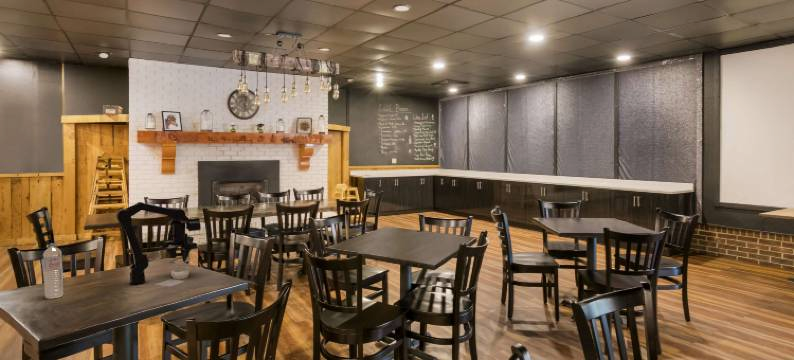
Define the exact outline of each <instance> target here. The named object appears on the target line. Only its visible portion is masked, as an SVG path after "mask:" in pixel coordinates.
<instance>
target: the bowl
mask: <svg viewBox="0 0 794 360" xmlns="http://www.w3.org/2000/svg"><path fill="white" fill-rule="evenodd" d="M170 272H171V278H172V280H183V279H187V278H188V277H189V275H190V274H189V273H190V269H189V268H188V267H179V268H173V269H171V270H170Z"/></svg>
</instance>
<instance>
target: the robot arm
mask: <svg viewBox="0 0 794 360" xmlns="http://www.w3.org/2000/svg"><path fill="white" fill-rule="evenodd" d="M141 211H144V212H149V213H153V214H158V215H164V216H166V217H170V218H173V219H171V221H169V222H168V224H169V225H172V229H173V231H172V234H171V237H172V238H173V239H172V240H166V241H162V243H161V248H165V250H167V252H168V253H169V254H170V256H171V259H172V258H176V257H177V251H178V248H183V249H180V252H181V256H182V258H183V261H184V263H186V262H185V261H186V259H187V257H189V256H188V255H189V254H190V252H191V250H194V249H198V243H196V242H194V239H195V237H193V236H189V235H188V233H187V232H186V231H188V232H195V231H201V229H202V226H201V225H202V224H201V221H200V218H199V217H195V218H189V217H188V216H186V211H185V210H184V209H182V208H179V207H163V206H160V205H155V204H149V203H146V202H142V201H138V202H136V203H135V204H133V205H130V206H128V207H126V208H121V209H119V210H118V211H117V212H116V214H115V215H116V217H117V220H118V221H119V223H120V225H121V226H122V227H123V229H124V232H125V235H126V237H127V240H128V244H129V246H130V249H131V251H132V256H133V257H132V258H133V264H132V265H131V266H130V267H129V270H130V272H129V281H130V282H129V283H127V285H130V286H141V285H144V284H146V283H147V284H148V281H146V275H145V270H146V269H147V268H148V267H149V262H150V260H149V259H148V254H147V252H146V251H145V252H142V250H141V247H140V244H139V242H138V241H139V240H138V238H137V235H136V233H135V230H134V228H133V222H132V217H133V216H135V215H136V214H138V213H140V212H141ZM174 219H175V220H174Z"/></svg>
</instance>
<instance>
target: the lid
mask: <svg viewBox="0 0 794 360" xmlns="http://www.w3.org/2000/svg"><path fill="white" fill-rule="evenodd" d="M190 261H191V257H190V256H187V259H186V261H185V262H184V261H183V258H182V255H180V256H176V258H172V257H171V258H170V259H168V262H169V264H176V265H179V264H183V263H186V262H190Z"/></svg>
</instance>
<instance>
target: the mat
mask: <svg viewBox="0 0 794 360" xmlns="http://www.w3.org/2000/svg"><path fill="white" fill-rule="evenodd" d="M184 282H185V280H181V279H173V278H172V279H167V280H164V281H162V282H161V281H160V282H157V283H155V284H154V285H155V286H161V287H173V286H176V285H179V284H182V283H184Z"/></svg>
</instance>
